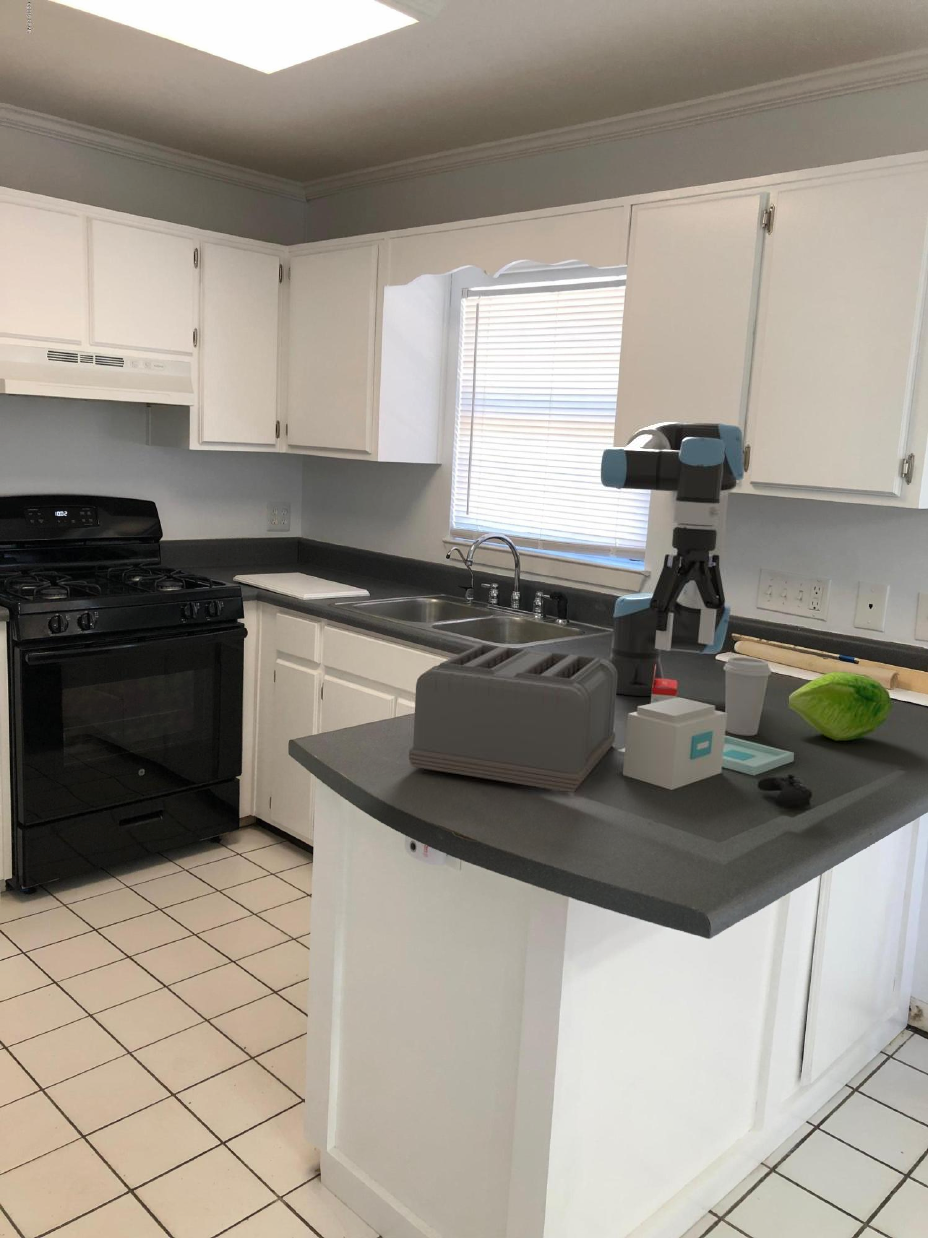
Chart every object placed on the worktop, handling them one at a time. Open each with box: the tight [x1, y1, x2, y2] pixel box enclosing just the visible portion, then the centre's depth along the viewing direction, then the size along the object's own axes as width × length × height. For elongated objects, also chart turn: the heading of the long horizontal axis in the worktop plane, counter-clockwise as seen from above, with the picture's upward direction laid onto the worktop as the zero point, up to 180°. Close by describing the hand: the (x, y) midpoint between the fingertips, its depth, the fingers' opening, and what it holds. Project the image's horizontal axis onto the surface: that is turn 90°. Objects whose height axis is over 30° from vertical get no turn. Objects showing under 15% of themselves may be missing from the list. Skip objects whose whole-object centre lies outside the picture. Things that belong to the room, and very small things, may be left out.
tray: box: [722, 734, 795, 776], centre depth 192 cm, size 15×15×2 cm
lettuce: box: [788, 671, 893, 742], centre depth 211 cm, size 15×20×14 cm
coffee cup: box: [723, 656, 772, 736], centre depth 211 cm, size 10×10×15 cm
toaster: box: [408, 643, 618, 792], centre depth 187 cm, size 30×36×18 cm
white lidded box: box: [616, 696, 727, 791], centre depth 180 cm, size 14×16×12 cm
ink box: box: [650, 664, 678, 704], centre depth 201 cm, size 8×5×15 cm, turn 168°
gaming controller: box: [757, 774, 813, 808], centre depth 167 cm, size 10×5×6 cm
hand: (684, 646), depth 181 cm, fingers open, 13 cm apart
